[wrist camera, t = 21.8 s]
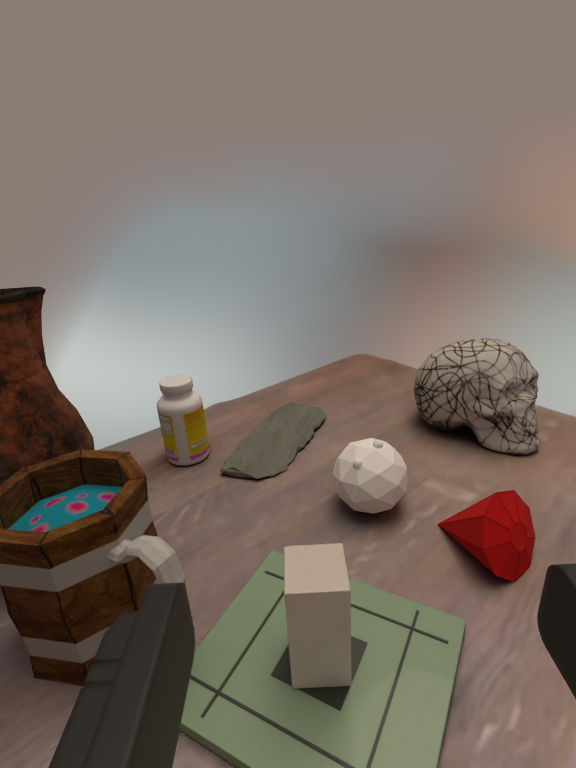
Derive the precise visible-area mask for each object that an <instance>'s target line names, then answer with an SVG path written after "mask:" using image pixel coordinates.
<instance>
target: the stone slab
mask: <svg viewBox="0 0 576 768" xmlns="http://www.w3.org/2000/svg"><path fill="white" fill-rule="evenodd" d="M325 417H326V414H325V413H324V411H323V410H321V409H320V408H317V407H311V406H307V405H297V404H293V403H290V404H287V405H284V406H282V407H281V408H279V409H277V410H275V411H274V412H272V413H271V414H270V415H269V416H268V417H267V418H266V419H265V420H263V422H262V423H261V424H260V425H258V426H257V427H255V428H254V429H253V430H252V432H251V434H250V435H249V436H248V437H246V438H245V439H244V440H243V441H242V442H240V443H239V444H238V446H237V448H236V449H235V450H234V451H233V452H232V453H231V455H230V456H229V457H228V458H227V460H226V461H225V462H224V466H223V467H222V468H221V469H220V471H221V472H222V473H223V474H226V475H230V476H233V477H243V478H254V479H260V478H263V477H266V476H274V475H276V474H277V473H280V472H284V471H286V470H287V465H288V464H289V463H290V462H292V460H293V459H294V458H295V455H296V453H297V451H298V450H300V449H301V448H303V447H304V446H305V444H306V442H307V441H309V440H310V438H311V437H312V436H313V435H314V429H315V428H317V427H319V426H320V424H321V423H322V421H323V420H324V418H325Z"/></svg>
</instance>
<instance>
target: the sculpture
mask: <svg viewBox="0 0 576 768" xmlns="http://www.w3.org/2000/svg"><path fill="white" fill-rule="evenodd" d="M537 380H538V372H537V370H536V369H535V368H534V367H533V366H532V365H531V363H530V361H529V360H528V359H527V358H526V356H525V355H524V354H523V352H522V351H520V350H519V349H518V348H517V347H515V346H513V345H511V344H509V343H507V342H505V341H502V340H497V339H490V338H489V339H488V338H483V339H478V340H475V339H471V340H463V341H458V342H453V343H451V344H449V345H446V346H443V347H441V348H439V349H438V350H436V351H434V352H433V353H432V354H431V355H430V356H428V357H427V359H426V360H425V361H424V362H423V363H422V365H421V366H420V368H419V370H418V372H417V375H416V378H415V384H414V395H415V400H416V404H417V408H418V411H419V412H420V414H421V416H422V417H423V418H424V419H425V420H426V421H427V423H428V424H429V425H430V426H432V427H434V428H435V429H437V430H444V431H448V432H453V433H467V434H475V436H476V437H477V441H478V443H479V444H480V445H481V446H483V447H486V448H489V449H492V450H495V451H499V452H505V453H508V454H513V455H522V454H526V455H528V454H532V453H534V452H535V451H536V450H537V448H538V447H539V439H538V437H537V434H538V427H537V417H536V411H535V399H536V398H537V391H538V388H537Z"/></svg>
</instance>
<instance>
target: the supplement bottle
mask: <svg viewBox="0 0 576 768" xmlns="http://www.w3.org/2000/svg"><path fill="white" fill-rule="evenodd" d="M192 387H193V383H192V378H191V377H190V376H187V375H175V376H170V377H167V378H165V379H163V380H162V381H160V390H161V392H162V394H163V396H162V397H161V398H160V399H159V400H158V402H157V410H158V415H159V420H160V425H161V430H162V435H163V440H164V446H165V451H166V455H167V458H168V460H169V461H170V462H171V463H173V464H175V465H181V466H184V465H192V464H195V463H198V462H200V461H202V460H203V459H205V458H206V457H207V455H208V454H209V441H208V435H207V428H206V422H205V416H204V409H203V403H202V399H201V396H200V395H199V394H198V393H197V392H195V391H192Z"/></svg>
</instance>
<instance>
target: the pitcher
mask: <svg viewBox="0 0 576 768" xmlns="http://www.w3.org/2000/svg"><path fill="white" fill-rule="evenodd" d="M44 293H45V289H44V288H42V287H24V288H9V289H0V485H1V484H2V483H3V482H4V481H6V480H7V479H8V478H10V477H11V476H12V475H14V474H15V473H16V472H17V471H19V470H20V469H21V468H24V467H28V466H31V465H34V464H37V463H40V462H43V461H46V460H49V459H53V458H56V457H59V456H62V455H65V454H68V453H71V452H75V451H78V450H94V442H93V437H92V435H91V433H90V431H89V430H88V428H87V426H86V424H85V423H84V421H83V419H82V417H81V416H80V414H79V412H78V411H77V409H76V408H75V407H74V406H73V405H72V404H71V402H70V401H69V400H68V399H67V398H66V397H65V396H64V395H63V394H62V393H61V392H60V391H59V389H58V387H57V385H56V383H55V382H54V379H53V377H52V375H51V373H50V371H49V369H48V367H47V365H46V359H45V354H44V347H43V340H42V325H41V324H42V322H41V309H42V301H43V295H44Z"/></svg>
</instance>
